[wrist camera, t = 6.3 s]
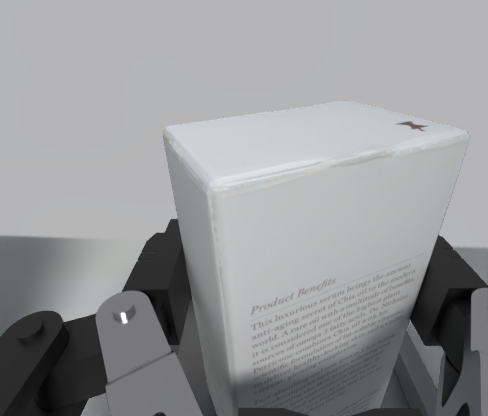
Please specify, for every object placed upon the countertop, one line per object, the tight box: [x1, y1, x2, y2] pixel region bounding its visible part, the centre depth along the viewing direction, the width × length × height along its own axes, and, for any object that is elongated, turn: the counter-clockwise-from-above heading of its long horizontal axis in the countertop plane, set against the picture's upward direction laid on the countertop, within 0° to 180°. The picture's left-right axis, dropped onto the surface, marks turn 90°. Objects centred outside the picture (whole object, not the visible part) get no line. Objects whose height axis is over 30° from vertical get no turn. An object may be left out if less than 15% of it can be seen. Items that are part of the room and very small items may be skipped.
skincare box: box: [163, 100, 470, 416], centre depth 10 cm, size 6×4×12 cm
